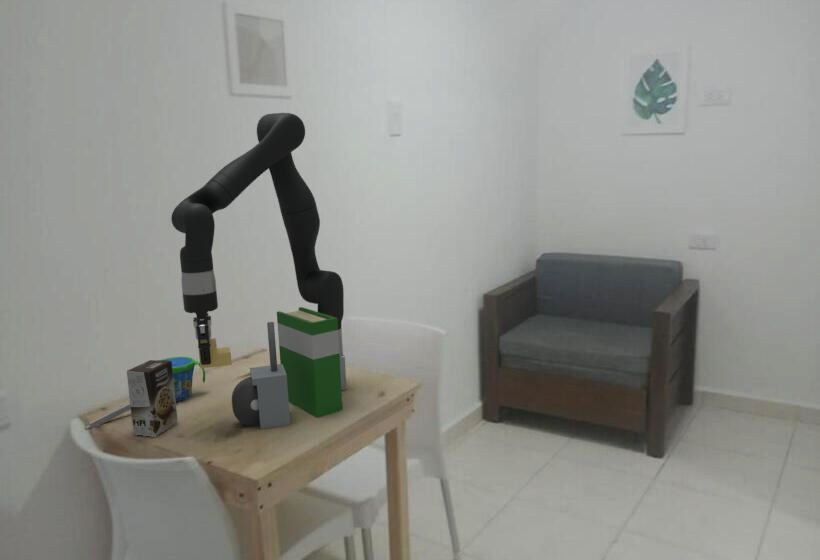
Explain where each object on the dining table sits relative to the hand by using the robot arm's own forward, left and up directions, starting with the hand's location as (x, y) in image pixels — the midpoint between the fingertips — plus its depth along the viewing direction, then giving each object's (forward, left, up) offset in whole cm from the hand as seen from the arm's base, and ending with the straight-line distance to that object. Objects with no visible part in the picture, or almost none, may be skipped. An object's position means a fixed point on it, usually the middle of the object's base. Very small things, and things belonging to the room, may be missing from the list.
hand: (206, 360), depth 156 cm
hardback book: (-25, -7, -17) cm, 31 cm away
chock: (-2, 0, -1) cm, 2 cm away
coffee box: (+13, -5, -17) cm, 22 cm away
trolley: (-11, 0, -17) cm, 21 cm away
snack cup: (+9, -26, -17) cm, 33 cm away
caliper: (+21, -17, -18) cm, 32 cm away
